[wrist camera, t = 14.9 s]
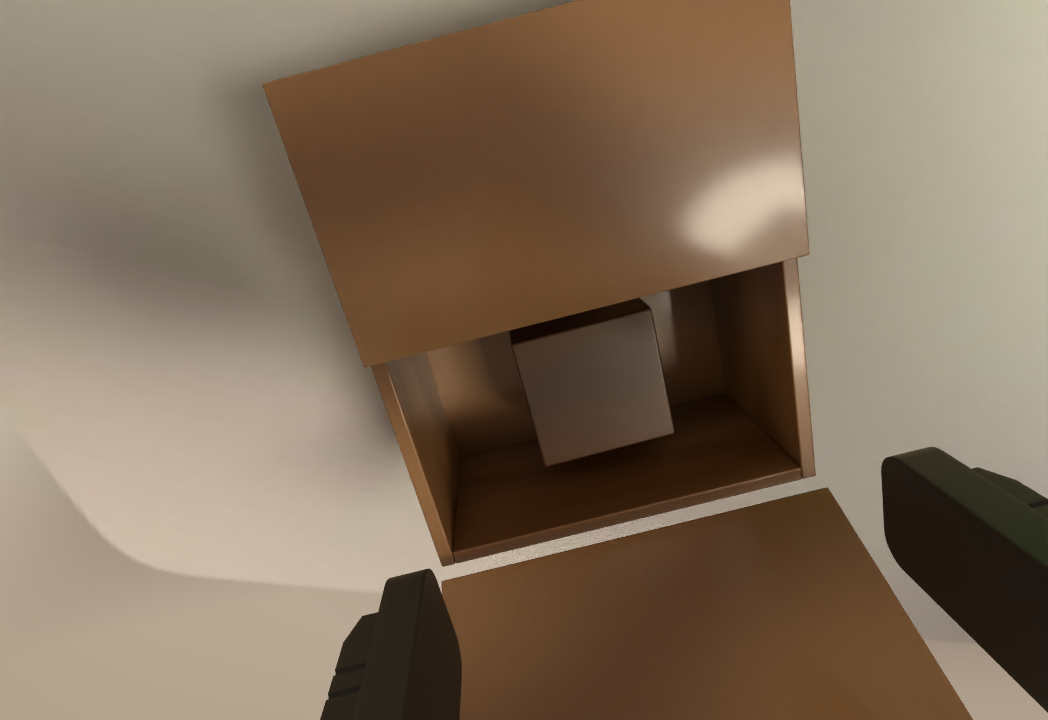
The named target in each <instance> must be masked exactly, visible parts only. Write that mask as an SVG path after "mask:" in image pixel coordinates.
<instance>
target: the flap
mask: <svg viewBox="0 0 1048 720" xmlns="http://www.w3.org/2000/svg"><path fill="white" fill-rule="evenodd" d="M442 596H443V599H444V602H445V605H446V607H447V610H448V613H449V616H450V618H451V621H452V624H453V627H454V629H455V632H456V635H457V639H458V643H459V647H460V653H461V661H462V684H461V704H460V720H973V719H972V717H971V716H970V714H969V712H968V711H967V709H966V708H965V706H964V704H963V703H962V701H961V700H960V698H959V696H958V695H957V693H956V692H955V690H954V688H953V687H952V685H951V684H950V682H949V680H948V679H947V677H946V676H945V674H944V673H943V671H942V669H941V668H940V666H939V664H938V663H937V661H936V660H935V658H934V656H933V655H932V653H931V652H930V650H929V648H928V647H927V645H926V644H925V642H924V640H923V639H922V637H921V636H920V634H919V632H918V631H917V629H916V628H915V626H914V624H913V623H912V621H911V620H910V618H909V616H908V615H907V613H906V612H905V610H904V608H903V607H902V605H901V604H900V602H899V600H898V599H897V597H896V596H895V594H894V592H893V591H892V589H891V588H890V586H889V584H888V583H887V581H886V580H885V578H884V576H883V575H882V573H881V572H880V570H879V568H878V567H877V565H876V564H875V562H874V561H873V559H872V557H871V556H870V554H869V553H868V551H867V549H866V548H865V546H864V545H863V543H862V541H861V540H860V538H859V537H858V535H857V533H856V532H855V530H854V529H853V527H852V525H851V524H850V522H849V521H848V519H847V517H846V516H845V514H844V513H843V511H842V509H841V508H840V506H839V505H838V503H837V501H836V500H835V498H834V497H833V495H832V493H831V492H830V490H829V489H828V488H822V489H818V490H814V491H810V492H806V493H802V494H798V495H794V496H790V497H786V498H781V499H777V500H773V501H769V502H765V503H761V504H757V505H753V506H749V507H745V508H740V509H736V510H732V511H728V512H724V513H720V514H716V515H712V516H708V517H704V518H699V519H695V520H691V521H687V522H683V523H679V524H675V525H671V526H667V527H662V528H658V529H654V530H650V531H646V532H642V533H638V534H634V535H630V536H626V537H621V538H617V539H613V540H609V541H605V542H601V543H597V544H593V545H589V546H585V547H580V548H576V549H572V550H568V551H564V552H560V553H556V554H552V555H548V556H543V557H539V558H535V559H531V560H527V561H523V562H519V563H515V564H511V565H507V566H502V567H498V568H494V569H490V570H486V571H482V572H478V573H474V574H470V575H466V576H461V577H457V578H453V579H449V580H445V581H442Z"/></svg>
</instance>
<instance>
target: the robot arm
mask: <svg viewBox="0 0 1048 720" xmlns="http://www.w3.org/2000/svg"><path fill="white" fill-rule="evenodd" d="M881 475H882V494H883V514H884V532H885V537H886V541H887V544H888V547H889V549H890V551H891V553H892V555H893V557H894V559H895V560H896V562H897V563H898V564H899V566H900V567H901V568H902V569H903V570H904V571H905V572H906V573H907V574H908V575H909V576H910V577H911V578H912V579H913V580H914V581H915V582H916V583H917V584H918V585H919V586H920V587H921V588H922V589H923V590H924V591H925V592H926V593H927V594H928V595H929V596H930V597H931V598H932V599H933V600H934V601H935V602H936V603H937V604H938V605H939V606H940V607H941V608H942V609H943V610H944V611H945V612H946V613H947V614H948V615H949V616H950V617H951V618H952V619H953V620H954V621H955V622H956V623H957V624H958V625H959V626H960V627H961V628H962V629H964V630H965V631H966V632H967V633H968V634H969V635H970V636H971V637H972V638H973V639H974V640H975V641H976V642H977V643H978V644H979V645H980V646H981V647H982V648H983V649H984V650H985V651H986V652H987V653H988V654H989V655H990V656H991V657H992V658H993V659H994V660H995V661H996V662H997V663H998V664H999V665H1000V666H1001V667H1002V668H1003V669H1004V670H1005V671H1006V672H1007V673H1008V674H1009V675H1010V676H1011V677H1012V678H1013V679H1014V680H1015V681H1016V682H1017V683H1018V684H1019V685H1020V686H1021V687H1022V688H1023V689H1024V690H1025V691H1026V692H1027V693H1028V694H1029V695H1030V696H1031V697H1032V698H1034V699H1035V700H1036V701H1037V702H1038V703H1039V704H1040V705H1041V706H1042V707H1043V708H1044V709H1045V710H1046V711H1047V712H1048V499H1047V498H1045V497H1043V496H1042V495H1040V494H1038V493H1037V492H1035V491H1033V490H1032V489H1030V488H1028V487H1027V486H1025V485H1023V484H1022V483H1020V482H1018V481H1017V480H1014V479H1011V478H1008V477H1005V476H1002V475H999V474H996V473H993V472H990V471H987V470H984V469H981V468H978V467H977V468H973V469H970V468H969V467H967V466H966V465H964V464H963V463H961V462H959V461H958V460H956V459H955V458H953V457H952V456H950V455H948V454H947V453H945V452H944V451H942V450H940V449H938V448H936V447H927V448H923V449H919V450H915V451H911V452H907V453H903V454H899V455H895V456H891V457H887V458H885V459H884V461H883V463H882V467H881ZM335 672H336V675H335V676H333V679H332V682H331V686H330V689H329V692H328V696H329V699H328V700H326V702H325V706H324V709H323V712H322V716H321V719H320V720H460V704H461V684H462V661H461V653H460V647H459V643H458V639H457V635H456V632H455V629H454V627H453V624H452V621H451V618H450V616H449V613H448V610H447V607H446V605H445V602H444V599H443V596H442V594H441V591H440V588H439V585H438V583H437V580H436V577H435V575H434V573H433V571H432V570H431V569H425V570H421V571H417V572H413V573H409V574H405V575H401V576H396V577H392V578H389V579H388V580H387V581H386V583H385V587H384V591H383V595H382V600H381V603H380V608H379V612H377V613H374V614H369V615H365V616H362V617H361V619H360V620H359V621H358V623H357V624H356V626H355V627H354V629H353V630H352V631H351V633H350V634H349V636H348V637H347V638H346V640H345V641H344V642H343V646H342V649H341V653H340V656H339V659H338V662H337V666H336V669H335Z"/></svg>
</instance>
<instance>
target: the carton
mask: <svg viewBox="0 0 1048 720" xmlns="http://www.w3.org/2000/svg"><path fill="white" fill-rule="evenodd" d="M263 88H264V91H265V94H266V97H267V99H268V102H269V105H270V108H271V111H272V113H273V116H274V119H275V122H276V124H277V127H278V130H279V133H280V136H281V138H282V141H283V144H284V147H285V149H286V152H287V155H288V158H289V160H290V163H291V166H292V169H293V172H294V174H295V177H296V180H297V183H298V185H299V188H300V191H301V194H302V196H303V199H304V202H305V205H306V208H307V210H308V213H309V216H310V219H311V221H312V224H313V227H314V230H315V232H316V235H317V238H318V241H319V244H320V246H321V249H322V252H323V255H324V257H325V260H326V263H327V266H328V268H329V271H330V274H331V277H332V280H333V282H334V285H335V288H336V291H337V293H338V296H339V299H340V302H341V305H342V307H343V310H344V313H345V316H346V318H347V321H348V324H349V327H350V329H351V332H352V335H353V338H354V341H355V343H356V346H357V349H358V352H359V354H360V357H361V360H362V363H363V365H364V367H368V366H371V368H372V371H373V374H374V377H375V379H376V382H377V385H378V388H379V391H380V393H381V396H382V399H383V402H384V405H385V408H386V410H387V413H388V416H389V419H390V422H391V424H392V427H393V430H394V433H395V436H396V438H397V441H398V444H399V447H400V450H401V452H402V455H403V458H404V461H405V464H406V466H407V469H408V472H409V475H410V478H411V480H412V483H413V486H414V489H415V492H416V494H417V497H418V500H419V503H420V506H421V508H422V511H423V514H424V517H425V520H426V522H427V525H428V528H429V531H430V534H431V537H432V539H433V542H434V545H435V548H436V551H437V553H438V556H439V559H440V562H441V565H442V566H443V567H444V566H448V565H452V564H455V562H456V563H461V562H465V561H469V560H473V559H477V558H481V557H485V556H489V555H493V554H497V553H501V552H506V551H510V550H514V549H518V548H522V547H526V546H530V545H534V544H538V543H542V542H546V541H551V540H555V539H559V538H563V537H567V536H571V535H575V534H579V533H583V532H587V531H592V530H596V529H600V528H604V527H608V526H612V525H616V524H620V523H624V522H628V521H632V520H637V519H641V518H645V517H649V516H653V515H657V514H661V513H665V512H669V511H673V510H677V509H682V508H686V507H690V506H694V505H698V504H702V503H706V502H710V501H714V500H718V499H722V498H727V497H731V496H735V495H739V494H743V493H747V492H751V491H755V490H759V489H763V488H768V487H772V486H776V485H780V484H784V483H788V482H792V481H796V480H800V479H801V478H803V479H804V478H808V477H813V476H815V475H816V473H815V461H814V450H813V438H812V426H811V415H810V403H809V391H808V380H807V368H806V356H805V344H804V333H803V321H802V309H801V298H800V286H799V274H798V263H797V258H798V257H802V256H806V255H809V241H808V228H807V216H806V203H805V190H804V177H803V164H802V152H801V139H800V126H799V113H798V101H797V88H796V75H795V62H794V49H793V37H792V24H791V11H790V0H576V1H572V2H568V3H565V4H561V5H557V6H553V7H550V8H546V9H542V10H538V11H534V12H531V13H527V14H523V15H519V16H516V17H512V18H508V19H504V20H501V21H497V22H493V23H489V24H485V25H482V26H478V27H474V28H470V29H467V30H463V31H459V32H455V33H452V34H448V35H444V36H440V37H436V38H433V39H429V40H425V41H421V42H418V43H414V44H410V45H406V46H403V47H399V48H395V49H391V50H388V51H384V52H380V53H376V54H372V55H369V56H365V57H361V58H357V59H354V60H350V61H346V62H342V63H339V64H335V65H331V66H327V67H323V68H320V69H316V70H312V71H308V72H305V73H301V74H297V75H293V76H290V77H286V78H282V79H278V80H274V81H271V82H267V83H264V84H263ZM636 298H641V299H642V300H643V301H644V302H645V303H646V304H647V305H648V306H649V307H650V308H651V309H652V314H653V319H654V324H655V329H656V335H657V340H658V345H659V351H660V356H661V361H662V366H663V372H664V377H665V382H666V388H667V393H668V398H669V404H670V409H671V414H672V419H673V425H674V430H675V432H674V434H671V435H667V436H663V437H660V438H656V439H652V440H648V441H644V442H640V443H636V444H632V445H629V446H625V447H621V448H617V449H613V450H609V451H605V452H602V453H598V454H594V455H590V456H586V457H582V458H578V459H574V460H571V461H567V462H563V463H559V464H555V465H551V466H547V467H546V466H545V465H544V463H543V459H542V455H541V452H540V448H539V445H538V441H537V438H536V434H535V430H534V427H533V423H532V420H531V416H530V413H529V409H528V405H527V402H526V398H525V395H524V391H523V388H522V384H521V380H520V377H519V373H518V370H517V366H516V363H515V359H514V355H513V352H512V348H511V343H510V335H509V331H510V330H514V329H518V328H522V327H526V326H530V325H534V324H538V323H541V322H545V321H549V320H553V319H557V318H561V317H565V316H569V315H573V314H577V313H581V312H585V311H589V310H593V309H597V308H601V307H605V306H609V305H613V304H617V303H621V302H624V301H628V300H632V299H636Z"/></svg>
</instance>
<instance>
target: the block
mask: <svg viewBox="0 0 1048 720" xmlns="http://www.w3.org/2000/svg"><path fill="white" fill-rule="evenodd" d="M509 335H510V343H511V348H512V352H513V355H514V359H515V363H516V366H517V370H518V373H519V377H520V380H521V384H522V388H523V391H524V395H525V398H526V402H527V405H528V409H529V413H530V416H531V420H532V423H533V427H534V430H535V434H536V438H537V441H538V445H539V448H540V452H541V455H542V459H543V463H544V465H545V466H546V467H547V466H551V465H555V464H559V463H563V462H567V461H571V460H574V459H578V458H582V457H586V456H590V455H594V454H598V453H602V452H605V451H609V450H613V449H617V448H621V447H625V446H629V445H632V444H636V443H640V442H644V441H648V440H652V439H656V438H660V437H663V436H667V435H671V434H674V432H675V430H674V425H673V419H672V414H671V409H670V404H669V398H668V393H667V388H666V382H665V377H664V372H663V366H662V361H661V356H660V351H659V345H658V340H657V335H656V329H655V324H654V319H653V314H652V309H651V308H650V307H649V306H648V305H647V304H646V303H645V302H644V301H643V300H642V299H641V298H636V299H632V300H628V301H624V302H621V303H617V304H613V305H609V306H605V307H601V308H597V309H593V310H589V311H585V312H581V313H577V314H573V315H569V316H565V317H561V318H557V319H553V320H549V321H545V322H541V323H538V324H534V325H530V326H526V327H522V328H518V329H514V330H510V331H509Z"/></svg>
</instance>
